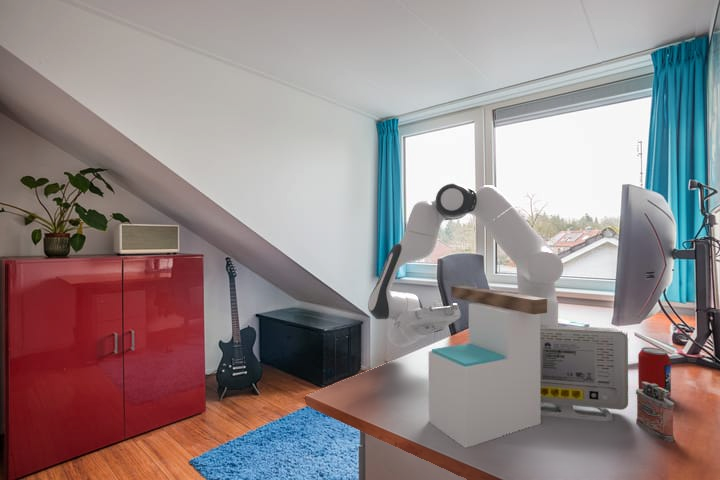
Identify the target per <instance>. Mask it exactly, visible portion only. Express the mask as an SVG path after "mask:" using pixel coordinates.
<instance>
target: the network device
mask: <svg viewBox="0 0 720 480" xmlns="http://www.w3.org/2000/svg"><path fill="white" fill-rule="evenodd" d="M540 401H541V404H551V405H556V407H557V409H558V410H559V411H560V412H558V411H557V412H556V411H547V410H546V411H545V410H541V416H546V417H555V418H556V417H557V418H558V417H559V418H568V419H578V420H589V421H598V422H599V421H601V422H610V421H613V420H614V419H613V418H614V417H613V414H612V412H610V411H609V409H611V410H619V411H620V410H621V411H622V410H623V411H624V410H626V409H627V407H628V406H629V338H628V335H627V334H626V333H624V332H623V331H620V330H618V329H617V328H616V327H615V328H614V327H595V326H592V327H591V326H589V327H576V326H553V325H540ZM574 406H575V407H587V408H594V409H595V408H597V409H598V410H599V411H600V412H601V413H602V414H603V415H604V416H599V415H589V414H582V413H578V412H576V411H575V410H574Z"/></svg>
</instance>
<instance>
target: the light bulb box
mask: <svg viewBox="0 0 720 480" xmlns="http://www.w3.org/2000/svg"><path fill="white" fill-rule="evenodd" d="M558 326H576V327H590V323H589V322H588V323H587V322H580V321H573V320H566V319H561V318H560V319H559V318H558Z"/></svg>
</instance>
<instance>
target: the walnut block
mask: <svg viewBox="0 0 720 480" xmlns="http://www.w3.org/2000/svg"><path fill="white" fill-rule="evenodd" d="M450 289H451V290H450V291H451V292H450V295H451V298H452V299H458V300H462V301H466V302H471V303H481V304H486V305H491V306H496V307H500V308H505V309H510V310H515V311H520V312H525V313H529V314H542V313H547V299H546V298H540V297H533V296H527V295H521V294H518V293H513V292H508V291H507V292H506V291H502V290H494V289H488V288H481V287H475V286H474V287H473V286H469V285H463V284H462V285H451V286H450Z"/></svg>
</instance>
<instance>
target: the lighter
mask: <svg viewBox="0 0 720 480" xmlns="http://www.w3.org/2000/svg"><path fill="white" fill-rule="evenodd" d="M635 395H636V409H637V410H636V412H637V413H636V415H637V416H636V417H637V418H636V420H635V423H636V425H638V426H639V427H640V428H641V429H642V430H644V431H646V432H648V433H649V434H651V435H653V436H655V437H657V438H659V439H660V440H661V439H662V440H663V439H664V440H663V441H666V440H668V442H673V440H674V441H675V434H674V408H675V403H674V402H673V401H671V400H670V399H671V398H670V397H671V396H670V392H669V391H667V390H665V389H663V388H660V387H659V386H658V385H657V384H650V383H648V382H642V389H639V388H637V389H635ZM664 397H666V398H664ZM668 398H669V399H668Z"/></svg>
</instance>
